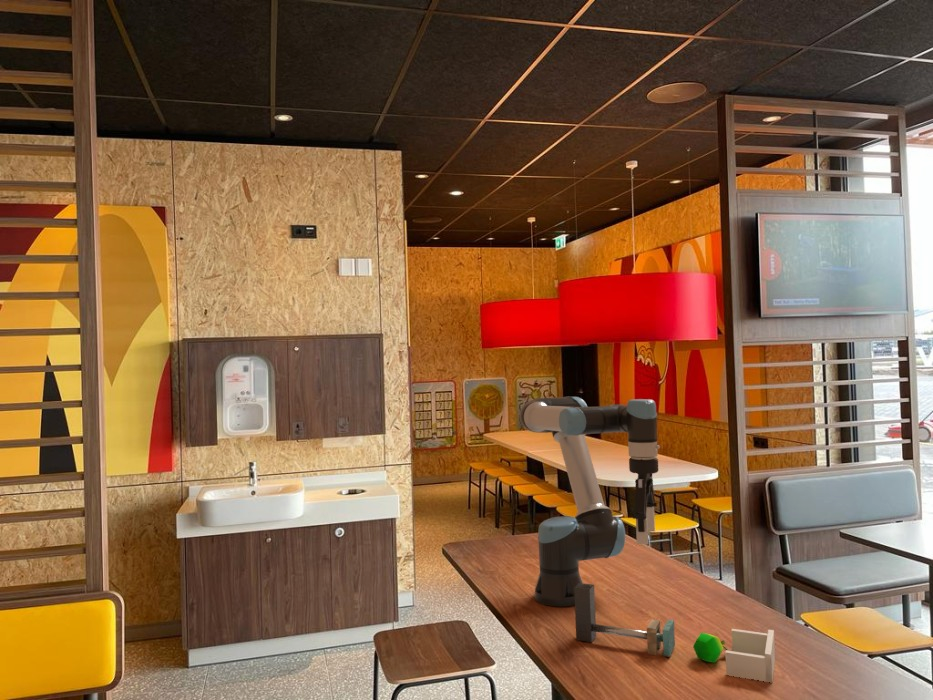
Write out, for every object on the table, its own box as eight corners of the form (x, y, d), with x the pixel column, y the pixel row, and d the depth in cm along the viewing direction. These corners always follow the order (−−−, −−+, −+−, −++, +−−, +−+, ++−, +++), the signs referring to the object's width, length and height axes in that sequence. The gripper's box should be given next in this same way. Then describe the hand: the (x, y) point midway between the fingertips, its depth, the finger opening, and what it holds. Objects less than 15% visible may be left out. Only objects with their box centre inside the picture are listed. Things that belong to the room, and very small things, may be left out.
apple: (698, 631, 152) (723, 622, 157) (682, 643, 156) (707, 633, 161) (716, 662, 148) (742, 651, 153) (700, 673, 152) (725, 662, 157)
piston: (574, 642, 166) (572, 589, 166) (582, 631, 172) (580, 581, 172) (669, 657, 155) (667, 601, 155) (675, 646, 161) (672, 592, 162)
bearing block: (647, 653, 158) (646, 627, 158) (652, 644, 163) (651, 619, 163) (656, 655, 157) (655, 628, 157) (661, 646, 162) (660, 620, 162)
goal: (726, 675, 146) (725, 647, 146) (732, 649, 159) (731, 624, 159) (772, 683, 142) (770, 654, 142) (775, 656, 155) (773, 630, 155)
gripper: (651, 465, 164) (654, 551, 164) (663, 451, 187) (666, 526, 187) (620, 464, 167) (623, 548, 167) (636, 450, 190) (639, 525, 189)
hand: (646, 537), depth 177 cm, fingers open, 13 cm apart
